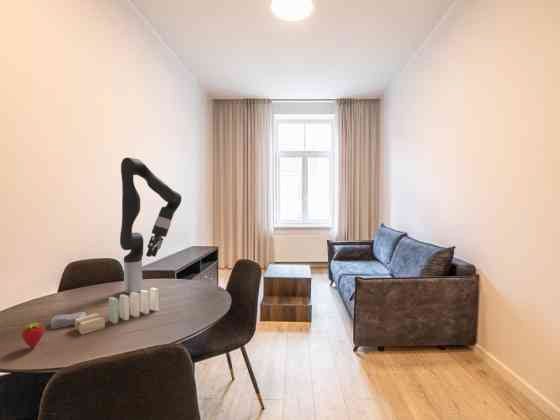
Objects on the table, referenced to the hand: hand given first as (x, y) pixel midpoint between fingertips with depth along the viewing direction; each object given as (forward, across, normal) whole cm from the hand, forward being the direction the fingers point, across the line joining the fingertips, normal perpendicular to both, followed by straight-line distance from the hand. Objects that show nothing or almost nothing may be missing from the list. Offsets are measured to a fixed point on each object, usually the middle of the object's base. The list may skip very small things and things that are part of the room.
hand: (150, 256), depth 154 cm
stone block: (+34, +21, -16) cm, 43 cm away
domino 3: (+25, +17, +7) cm, 31 cm away
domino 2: (+26, +20, +4) cm, 33 cm away
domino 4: (+23, +14, +10) cm, 29 cm away
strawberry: (+37, +43, -15) cm, 59 cm away
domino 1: (+28, +23, +1) cm, 36 cm away
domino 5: (+22, +11, +13) cm, 28 cm away
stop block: (+31, +29, -4) cm, 43 cm away
